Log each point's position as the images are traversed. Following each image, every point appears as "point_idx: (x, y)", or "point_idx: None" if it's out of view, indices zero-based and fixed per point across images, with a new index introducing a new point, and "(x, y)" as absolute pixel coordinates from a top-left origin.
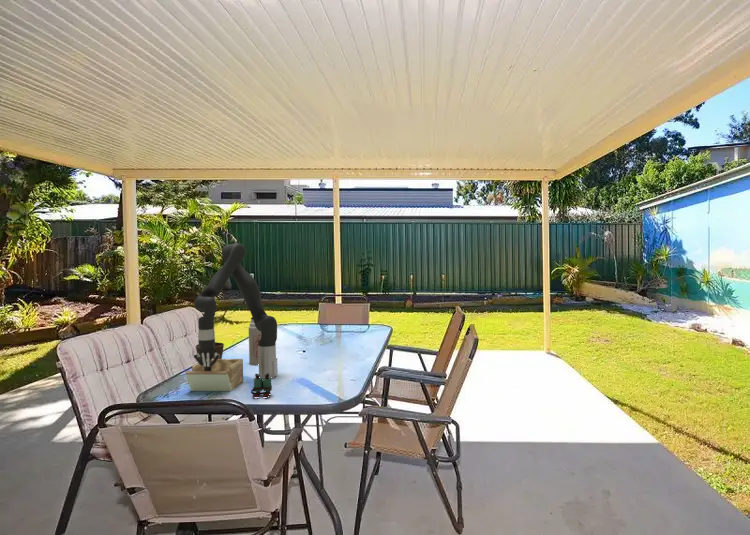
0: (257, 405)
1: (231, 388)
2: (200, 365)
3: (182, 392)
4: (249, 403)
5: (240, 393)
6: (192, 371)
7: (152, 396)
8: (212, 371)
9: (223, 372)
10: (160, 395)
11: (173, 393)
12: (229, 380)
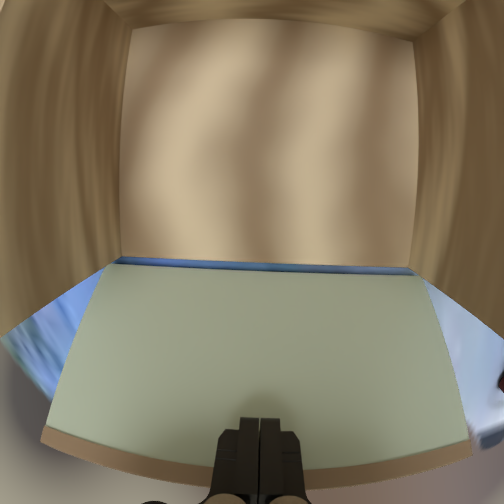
0: (491, 437)
1: (423, 286)
2: (1, 122)
3: (75, 293)
4: (476, 430)
5: (462, 319)
6: (98, 463)
7: (3, 344)
8: (334, 487)
9: (440, 466)
10: (17, 335)
11: (44, 308)
12: (326, 23)
